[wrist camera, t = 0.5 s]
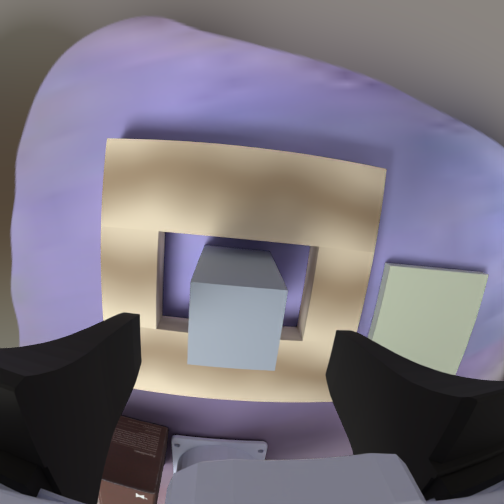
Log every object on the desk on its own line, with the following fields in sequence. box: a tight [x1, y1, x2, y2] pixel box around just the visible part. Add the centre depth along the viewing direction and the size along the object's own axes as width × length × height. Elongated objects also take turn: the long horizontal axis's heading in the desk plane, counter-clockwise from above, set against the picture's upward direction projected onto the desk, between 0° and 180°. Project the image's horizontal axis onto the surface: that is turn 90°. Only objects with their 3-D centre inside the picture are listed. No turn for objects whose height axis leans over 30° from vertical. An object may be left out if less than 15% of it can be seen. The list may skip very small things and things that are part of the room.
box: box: [97, 416, 169, 504], centre depth 20 cm, size 6×6×7 cm
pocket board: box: [101, 139, 387, 402], centre depth 19 cm, size 16×16×2 cm
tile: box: [368, 263, 488, 375], centre depth 22 cm, size 10×10×1 cm
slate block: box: [187, 245, 288, 371], centre depth 17 cm, size 4×4×7 cm
